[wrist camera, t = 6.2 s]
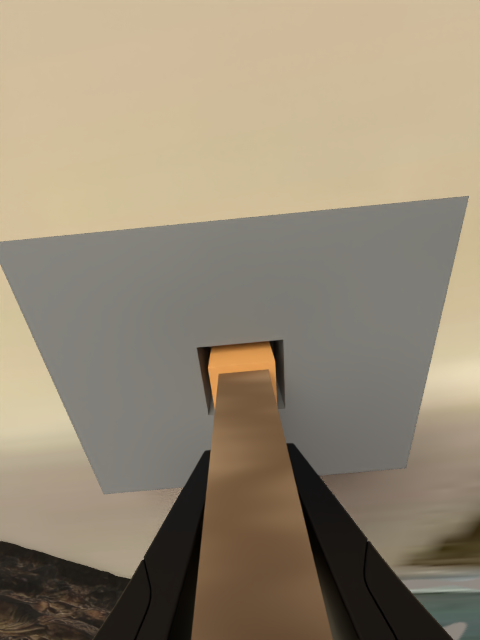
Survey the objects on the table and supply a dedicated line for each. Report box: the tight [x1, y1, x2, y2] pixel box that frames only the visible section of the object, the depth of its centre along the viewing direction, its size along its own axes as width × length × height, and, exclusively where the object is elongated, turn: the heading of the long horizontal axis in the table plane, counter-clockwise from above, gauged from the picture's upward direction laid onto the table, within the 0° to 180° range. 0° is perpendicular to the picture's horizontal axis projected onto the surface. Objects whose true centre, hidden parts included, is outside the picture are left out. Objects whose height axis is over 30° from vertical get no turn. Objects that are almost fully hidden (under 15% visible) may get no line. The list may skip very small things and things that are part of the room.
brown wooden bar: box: [191, 369, 333, 640], centre depth 7 cm, size 2×2×10 cm
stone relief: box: [0, 541, 131, 640], centre depth 29 cm, size 26×4×30 cm
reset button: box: [208, 341, 277, 408], centre depth 14 cm, size 3×3×4 cm
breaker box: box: [0, 196, 469, 494], centre depth 15 cm, size 20×16×4 cm
